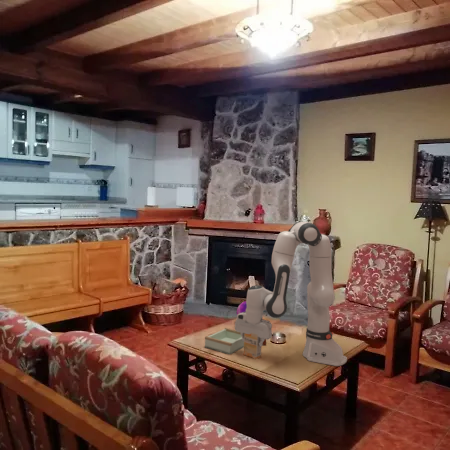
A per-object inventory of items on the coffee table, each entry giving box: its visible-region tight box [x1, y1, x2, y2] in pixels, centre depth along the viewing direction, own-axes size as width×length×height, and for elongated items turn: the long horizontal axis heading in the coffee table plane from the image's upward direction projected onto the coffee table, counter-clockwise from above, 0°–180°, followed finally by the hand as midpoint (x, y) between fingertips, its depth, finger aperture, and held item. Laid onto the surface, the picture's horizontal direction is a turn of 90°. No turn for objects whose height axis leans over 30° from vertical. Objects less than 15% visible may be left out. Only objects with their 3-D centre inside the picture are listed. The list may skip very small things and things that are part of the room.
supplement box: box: [243, 333, 262, 360], centre depth 228 cm, size 8×5×13 cm, turn 52°
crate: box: [204, 327, 244, 356], centre depth 241 cm, size 16×20×6 cm
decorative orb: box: [236, 300, 247, 316], centre depth 280 cm, size 15×15×15 cm
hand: (252, 343), depth 227 cm, fingers open, 8 cm apart
